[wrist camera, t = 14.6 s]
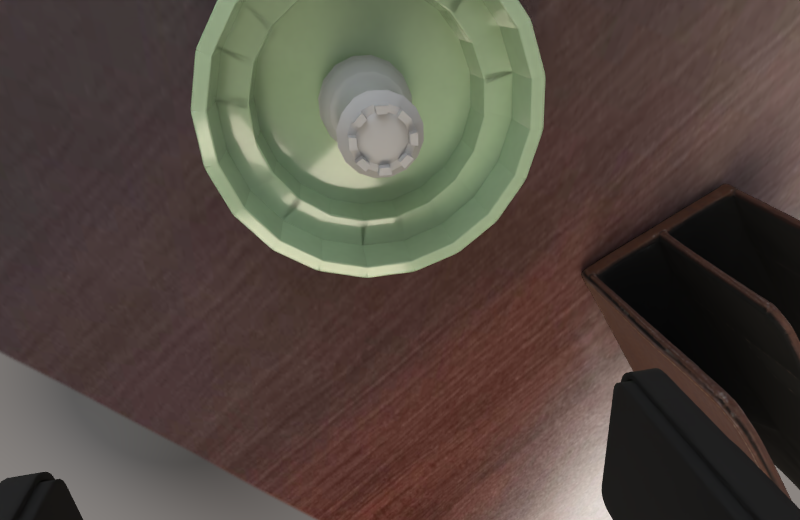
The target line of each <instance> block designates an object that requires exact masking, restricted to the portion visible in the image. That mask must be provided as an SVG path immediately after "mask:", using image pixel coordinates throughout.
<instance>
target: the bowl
mask: <svg viewBox="0 0 800 520" xmlns="http://www.w3.org/2000/svg"><path fill="white" fill-rule="evenodd" d="M362 55H373V56H375V57H378V58H381V59H383V60H386V61H389V62H390V63H391V64H392V65H393V66H394V67H395V68H396V69H397V70H398V71H399V72H400V73H401V74H402V75H403V77H404V79H405V81H406V83H407V86H408V88H409V90H410V92H411V95H412V104H413V105H414V106H415V107H416V108H417V110H418V113H419V115H420V117H421V119H422V122H423V129H424V141H423V144H422V147H421V149H420V152H419V155H418V157H417V158H416V159H415V160H414V161H413V163H412V164H411V165H410V166H409V167H408V168H407V169H406V170H404V171H402V172H400V173H398V174H396V175H394V176H392V177H382V178H373V177H370V176H366V175H363V174H360V173H358V172H357V171H356V170H354V169H353V168H352V167H351V166H350V165H348V164H347V163H346V162H345V160H344V158H343V156H342V154H341V152H340V150H339V148H338V143H337V141H335V140H334V139H333V138H332V137H331V136H330V135H329V133H328V131H327V129H326V127H325V125H324V123H323V121H322V119H321V118H320V111H319V102H318V97H319V93H320V90H321V86H322V83H323V80H324V78H325V77H326V76H327V75H328V73H329V72H330V71H331V70H332V69H333V67H334V66H335V65H336V64H338V63H340V62H342V61H344V60H346V59H348V58H350V57H352V56H362ZM545 78H546V77H545V72H544V68H543V64H542V60H541V56H540V52H539V48H538V45H537V41H536V37H535V33H534V29H533V25H532V22H531V21H530V17H529V16H528V14H527V13H526V11H525V10H524V8H523V7H522V5H521V3H520V2H519V0H217V2H216V4H215V7H214V9H213V11H212V13H211V16H210V18H209V20H208V22H207V25H206V27H205V29H204V31H203V34H202V36H201V38H200V40H199V43H198V45H197V47H196V52H195V61H194V73H193V85H192V97H191V116H192V120H193V124H194V128H195V132H196V136H197V140H198V144H199V148H200V153H201V157H202V161H203V165H204V167H205V170H206V172H207V173H208V175H209V176H210V178H211V180H212V181H213V183H214V185H215V186H216V188H217V190H218V191H219V193H220V194H221V196H222V198H223V199H224V201H225V203H226V204H227V206H228V208H229V209H230V211H231V213H232V214H234V216H235V217H236V218H237V219H238V220H239V221H240V222H242V223H243V224H244V225H245V226H246V227H247V228H248V229H249V230H251V231H252V232H253V233H254V234H255V235H256V236H257V237H258V238H260V239H261V240H262V241H263V242H264V243H265V244H266V245H268V246H269V247H270V248H271V249H273V250H274V251H276V252H278V253H280V254H282V255H284V256H287V257H289V258H291V259H293V260H295V261H298V262H300V263H302V264H304V265H306V266H308V267H311V268H313V269H315V270H317V271H318V270H319V271H322V272H329V273H336V274H343V275H349V276H356V277H363V278H366V277H367V278H371V277H378V276H386V275H393V274H401V273H408V272H414V271H417V270H419V269H422V268H424V267H426V266H429V265H431V264H433V263H436V262H438V261H440V260H442V259H445V258H447V257H449V256H452V255H454V254H456V253H458V252H460V251H461V250H462V249H463V248H465V247H466V246H467V245H468V244H470V243H471V242H472V241H473V240H475V239H476V238H477V237H478V236H479V235H481V234H482V233H483V232H484V231H486V230H487V229H488V228H489V227H490V226H492V225H493V224H494V223H495V222H496V221H497V220H498V219H499V217H500V216H501V215H502V213H503V212H504V210H505V209H506V207H507V206H508V205H509V203H510V202H511V200H512V199H513V197H514V196H515V195H516V193H517V192H518V190H519V189H520V187H521V186H522V185H523V183H524V182H525V179H526V178H527V175H528V172H529V169H530V166H531V163H532V161H533V158H534V155H535V152H536V149H537V146H538V143H539V140H540V137H541V135H542V130H543V122H544V100H545Z"/></svg>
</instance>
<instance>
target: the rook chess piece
mask: <svg viewBox="0 0 800 520" xmlns="http://www.w3.org/2000/svg"><path fill="white" fill-rule="evenodd" d="M318 102H319V111H320V118H321V119H322V121H323V123H324V125H325V127H326V129H327V131H328V133H329V135H330V136H331V137H332V138H333V139H334V140H335V141H337V143H338V148H339V150H340V152H341V154H342V156H343V158H344V160H345V162H346V163H347V164H348V165H350V166H351V167H352V168H353V169H354V170H356V171H357V172H358V173H360V174H363V175H366V176H370V177H373V178H382V177H392V176H394V175H396V174H398V173H400V172H402V171H404V170H406V169H407V168H408V167H409V166H410V165H411V164H412V163H413V161H414V160H415V159H416V158H417V157H418V155H419V152H420V149H421V147H422V144H423V141H424V129H423V122H422V119H421V117H420V115H419V113H418V110H417V108H416V107H415V106H414V105H413V104H412V95H411V92H410V90H409V88H408V86H407V83H406V81H405V79H404V77H403V75H402V74H401V73H400V72H399V71H398V70H397V69H396V68H395V67H394V66H393V65H392V64H391V63H390V62H389V61H386V60H383V59H381V58H378V57H375V56H373V55H362V56H352V57H350V58H348V59H346V60H344V61H342V62H340V63H338V64H336V65H335V66H334V67H333V69H332V70H331V71H330V72H329V73H328V75H327V76H326V77H325V78H324V80H323V83H322V86H321V90H320V93H319V97H318Z"/></svg>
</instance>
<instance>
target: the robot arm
mask: <svg viewBox="0 0 800 520" xmlns="http://www.w3.org/2000/svg"><path fill="white" fill-rule="evenodd" d="M602 497H603V500H604V503H605V506H606V508H607V510H608V512H609V514H610V515H611V517H612V519H613V520H800V509H799V508H798V507H797V506H796V505H795V504H794V503H793V502H792V501H791V500H790V499H789V498H788V497H787V496H786V495H785V494H784V493H783V492H782V491H781V490H780V489H779V487H778V486H777V485H776V484H775V483H774V482H773V481H772V480H771V479H770V478H769V477H768V476H767V475H766V474H765V473H764V472H763V471H762V470H761V469H760V468H759V467H758V466H757V465H756V464H755V463H754V462H753V461H752V460H751V459H750V458H749V457H748V456H747V455H746V454H745V453H744V452H743V451H742V450H741V449H740V448H739V447H738V446H737V445H736V444H735V443H734V442H732V441H731V440H730V439H729V438H728V437H727V436H726V435H725V434H724V433H723V432H722V431H721V430H720V429H719V428H718V427H717V426H716V425H715V424H714V423H713V422H712V421H711V419H710V418H709V417H708V416H707V415H706V414H705V413H704V412H703V411H702V410H701V409H700V408H699V407H698V406H697V405H696V404H695V403H694V402H693V401H692V400H691V399H690V398H689V397H688V396H687V395H686V394H685V393H684V392H683V391H682V390H681V389H680V388H679V387H678V386H677V385H676V383H675V382H674V381H673V380H672V379H671V378H670V377H669V376H668V375H667V374H666V373H665V372H663V371H662V370H661V369H658V368H652V369H646V370H640V371H634V372H629V373H625V374H624V375H623V377H622V380H621V382H620V383H616V385H615V386H614V391H613V399H612V407H611V416H610V424H609V432H608V440H607V448H606V457H605V465H604V473H603V481H602ZM0 520H83V518H82V516H81V514H80V512H79V510H78V508H77V506H76V504H75V502H74V500H73V498H72V496H71V494H70V492H69V490H68V488H67V486H66V484H65V483H64V481H63V480H61V479H56V480H55V479H54V477H53V476H52V475H51V474H50V473H48V472H41V473H35V474H29V475H23V476H18V477H12V478H7V479H5V480H3V481H1V483H0Z"/></svg>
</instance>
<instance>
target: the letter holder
mask: <svg viewBox="0 0 800 520" xmlns="http://www.w3.org/2000/svg"><path fill="white" fill-rule="evenodd" d="M581 275H582V278H583V280H584V282H585V284H586V285H587V287H588V289H589V290H590V292H591V294H592V296H593V297H594V299H595V301H596V303H597V305H598V306H599V308H600V310H601V312H602V313H603V315H604V317H605V319H606V321H607V323H608V325H609V326H610V328H611V330H612V332H613V334H614V336H615V338H616V339H617V341H618V343H619V345H620V347H621V349H622V351H623V353H624V355H625V357H626V358H627V360H628V362H629V364H630V366H631V368H632V370H633V371H640V370H646V369H652V368H658V369H661V370H662V371H663V372H665V373H666V374H667V375H668V376H669V377H670V378H671V379H672V380H673V381H674V382H675V383H676V385H677V386H678V387H679V388H680V389H681V390H682V391H683V392H684V393H685V394H686V395H687V396H688V397H689V398H690V399H691V400H692V401H693V402H694V403H695V404H696V405H697V406H698V407H699V408H700V409H701V410H702V411H703V412H704V413H705V414H706V415H707V416H708V417H709V418H710V419H711V421H712V422H713V423H714V424H715V425H716V426H717V427H718V428H719V429H720V430H721V431H722V432H723V433H724V434H725V435H726V436H727V437H728V438H729V439H730V440H731V441H732V442H734V443H735V444H736V445H737V446H738V447H739V448H740V449H741V450H742V451H743V452H744V453H745V454H746V455H747V456H748V457H749V458H750V459H751V460H752V461H753V462H754V463H755V464H756V465H757V466H758V467H759V468H760V469H761V470H762V471H763V472H764V473H765V474H766V475H767V476H768V477H769V478H770V479H771V480H772V481H773V482H774V483H775V484H776V485H777V486H778V487H779V489H780V490H781V491H782V492H783V493H784V494H785V495H786V496H787V497H788V498H789V499H790V500H791V498H790V496H789V494H788V492H787V490H786V488H785V486H784V483H783V482H782V480H781V478H780V476H779V474H778V472H777V470H776V468H775V466H774V465H776V466H777V467H778V468H779V469H780V470H781V471H782V472H783V473H784V474H785V475H786V476H787V477H788V478H789V479H790V480H791V481H792V482H793V483H794V484H795V485H796V486H797V487H798V488H799V490H800V221H799V220H798V219H796V218H794V217H792V216H790V215H788V214H786V213H784V212H782V211H780V210H778V209H776V208H774V207H772V206H770V205H768V204H767V203H764V202H762V201H760V200H758V199H756V198H754V197H752V196H750V195H748V194H746V193H744V192H742V191H740V190H738V189H736V188H735V187H733V186H731V185H729V184H723V185H722V186H720V187H719V188H717V189H716V190H714V191H712V192H711V193H709V194H708V195H706V196H704V197H703V198H701V199H699V200H698V201H696V202H694V203H693V204H691V205H689V206H688V207H686V208H684V209H683V210H681V211H679V212H678V213H676V214H675V215H673V216H671V217H670V218H668V219H666V220H665V221H663V222H661V223H660V224H658V225H656V226H655V227H653V228H652V229H650V230H648V231H647V232H645V233H643V234H642V235H640V236H638V237H637V238H635V239H633V240H632V241H630V242H628V243H627V244H625V245H624V246H622V247H620V248H618V249H617V250H615V251H613V252H612V253H610V254H609V255H607V256H605V257H604V258H602V259H601V260H599V261H598V262H596V263H595V264H593V265H591V266H590V267H588V268H586V269H585V270H584V271H583V272H582V274H581Z"/></svg>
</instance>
